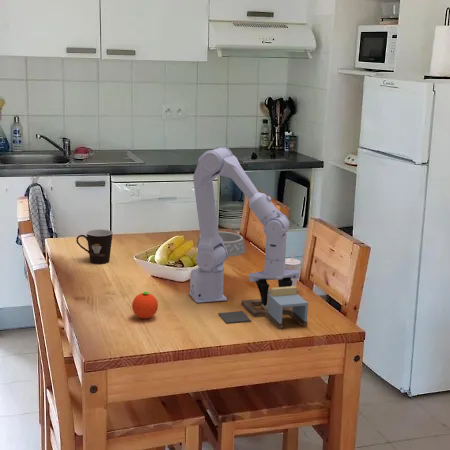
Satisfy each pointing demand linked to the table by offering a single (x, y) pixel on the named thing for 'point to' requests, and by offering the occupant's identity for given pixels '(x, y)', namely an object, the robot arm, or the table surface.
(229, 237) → the dog bowl
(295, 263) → the smoothie
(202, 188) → the robot arm
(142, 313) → the clementine
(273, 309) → the cover
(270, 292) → the block
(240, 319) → the mat
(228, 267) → the table surface
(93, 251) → the coffee mug
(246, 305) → the puzzle board
